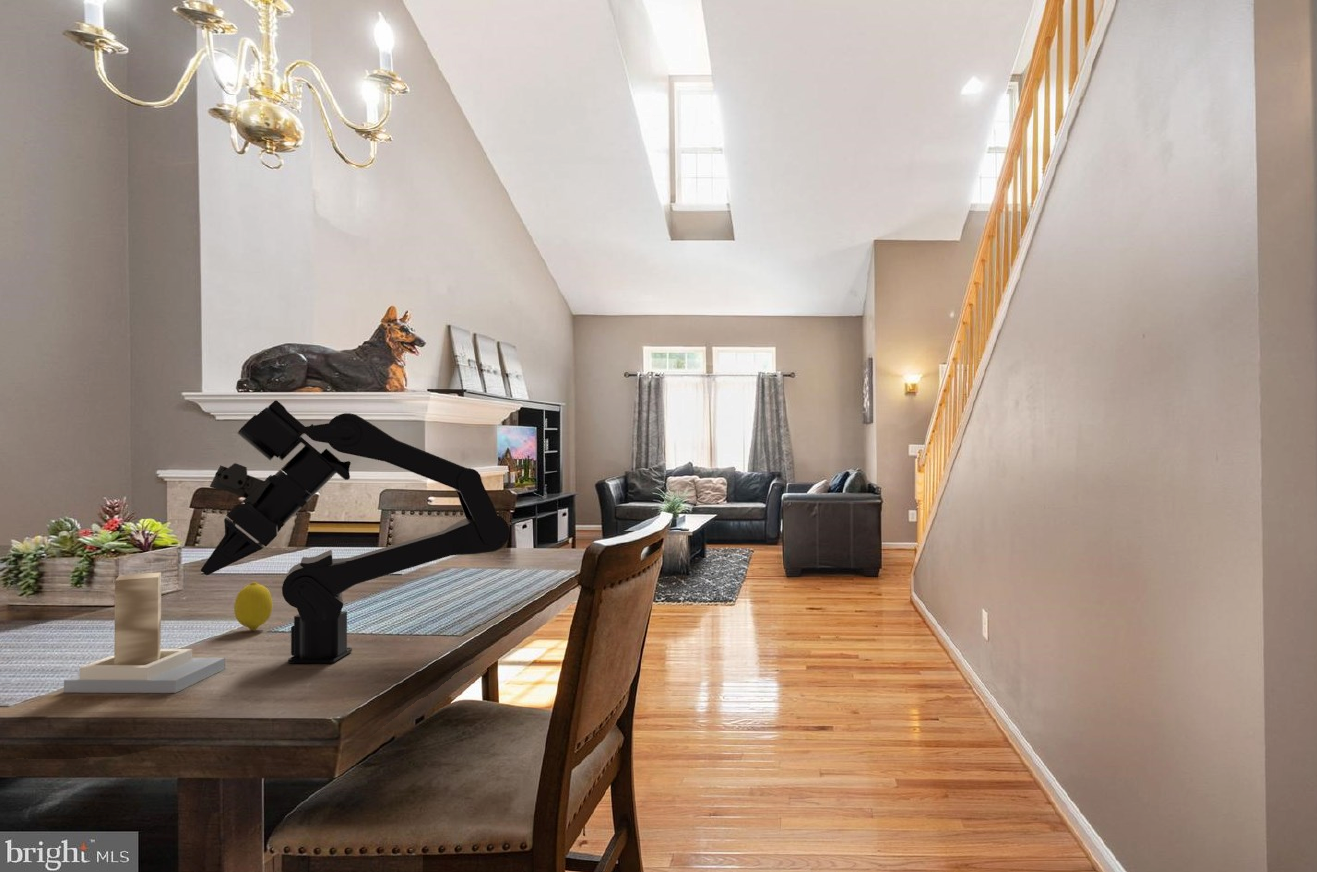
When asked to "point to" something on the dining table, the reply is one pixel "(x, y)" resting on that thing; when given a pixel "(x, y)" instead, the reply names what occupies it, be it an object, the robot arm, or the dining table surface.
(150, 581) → the beech pillar
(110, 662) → the foundation plate
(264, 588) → the lemon
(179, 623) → the dining table surface
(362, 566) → the robot arm
